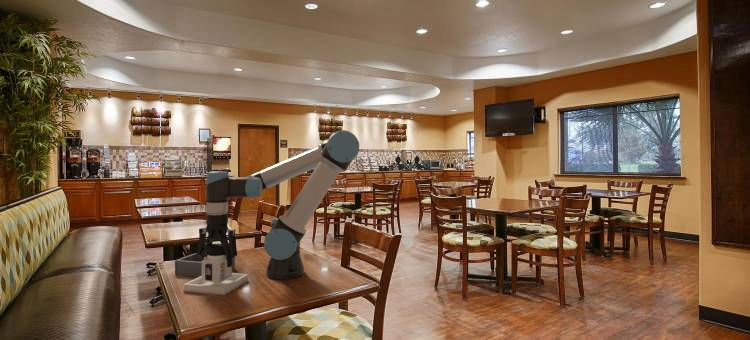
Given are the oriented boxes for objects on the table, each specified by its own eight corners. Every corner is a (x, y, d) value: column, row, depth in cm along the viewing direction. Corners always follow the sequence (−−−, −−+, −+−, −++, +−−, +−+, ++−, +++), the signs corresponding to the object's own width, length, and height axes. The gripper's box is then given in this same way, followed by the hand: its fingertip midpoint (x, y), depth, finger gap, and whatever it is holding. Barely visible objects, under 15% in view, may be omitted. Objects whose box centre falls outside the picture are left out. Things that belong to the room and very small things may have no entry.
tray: (248, 281, 153) (248, 274, 153) (224, 295, 137) (224, 287, 137) (211, 277, 156) (211, 271, 156) (183, 291, 140) (183, 284, 140)
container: (220, 283, 142) (220, 247, 141) (201, 281, 143) (201, 246, 143) (232, 277, 149) (232, 242, 149) (213, 275, 151) (213, 241, 150)
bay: (235, 268, 169) (235, 255, 169) (217, 277, 156) (217, 263, 156) (195, 265, 173) (195, 252, 173) (175, 274, 160) (174, 260, 160)
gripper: (248, 213, 147) (247, 273, 148) (198, 210, 151) (198, 269, 152) (237, 216, 140) (236, 280, 141) (185, 213, 144) (185, 275, 145)
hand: (217, 274), depth 146 cm, fingers closed on container, 8 cm apart
